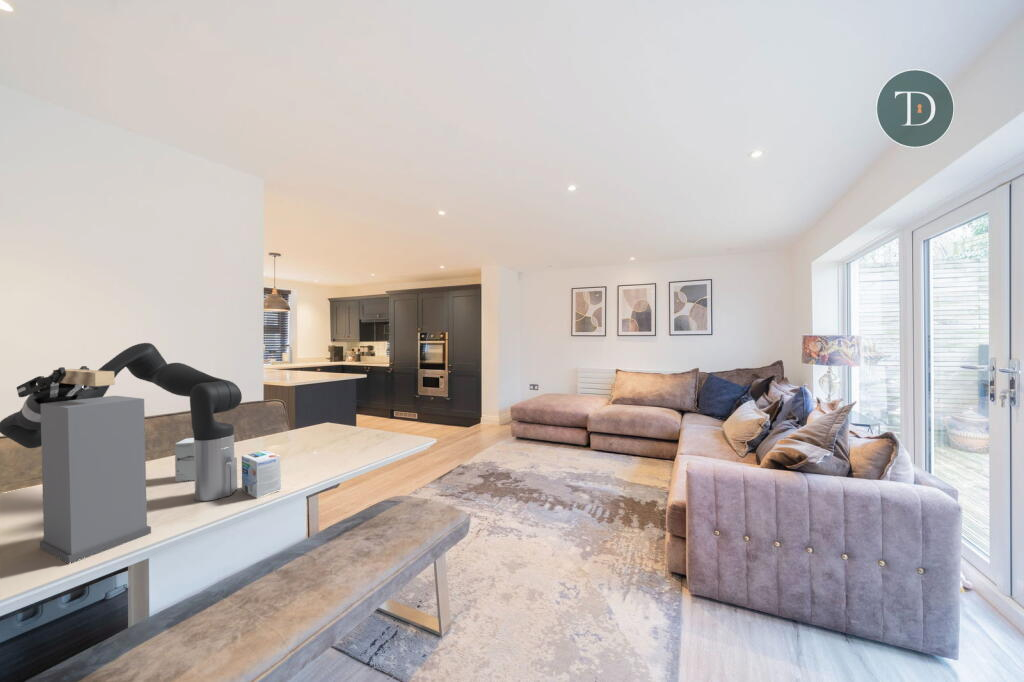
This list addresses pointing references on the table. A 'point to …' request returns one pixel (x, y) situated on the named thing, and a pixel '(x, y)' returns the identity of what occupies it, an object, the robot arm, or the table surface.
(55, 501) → the charcoal pedestal
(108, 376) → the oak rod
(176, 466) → the supplement box
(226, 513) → the table surface
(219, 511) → the table surface
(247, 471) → the light bulb box
